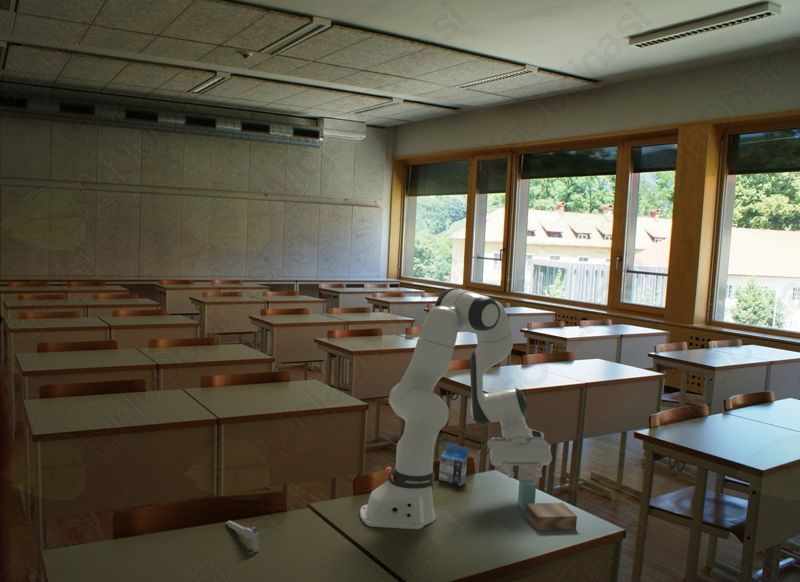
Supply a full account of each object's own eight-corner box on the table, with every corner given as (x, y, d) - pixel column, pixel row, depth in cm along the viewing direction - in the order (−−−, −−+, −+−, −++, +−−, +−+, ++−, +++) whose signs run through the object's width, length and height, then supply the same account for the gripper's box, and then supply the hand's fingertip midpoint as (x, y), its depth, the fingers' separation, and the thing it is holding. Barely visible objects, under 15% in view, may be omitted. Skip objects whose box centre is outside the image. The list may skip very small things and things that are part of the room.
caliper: (258, 553, 174) (259, 529, 174) (254, 554, 174) (255, 530, 173) (228, 523, 191) (229, 502, 190) (225, 524, 190) (225, 502, 190)
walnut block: (537, 530, 197) (538, 517, 196) (525, 516, 207) (525, 503, 206) (576, 529, 199) (576, 516, 199) (561, 515, 209) (562, 502, 209)
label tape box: (438, 480, 234) (440, 445, 233) (444, 477, 237) (446, 442, 236) (460, 486, 229) (462, 450, 228) (466, 483, 232) (468, 448, 231)
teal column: (522, 509, 212) (523, 484, 211) (517, 504, 216) (519, 480, 215) (534, 509, 212) (536, 484, 212) (529, 504, 216) (531, 480, 216)
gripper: (489, 433, 220) (496, 473, 211) (548, 433, 224) (558, 472, 215) (484, 442, 225) (491, 481, 216) (542, 442, 229) (551, 480, 220)
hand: (525, 476), depth 216 cm, fingers open, 8 cm apart
